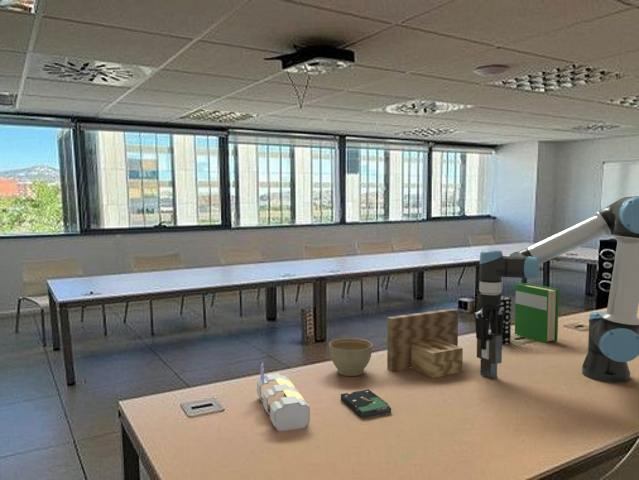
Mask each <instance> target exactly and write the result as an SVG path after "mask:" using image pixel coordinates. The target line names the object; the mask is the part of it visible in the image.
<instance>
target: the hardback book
mask: <svg viewBox="0 0 639 480" xmlns="http://www.w3.org/2000/svg"><path fill="white" fill-rule="evenodd" d="M559 295H560V289H559V288H555V287H550V286H543V285H538V284H534V283H533V284H532V283H528V282H526V283H517V284H515V305H514V306H515V309H514V310H515V312H514V313H515V314H514V335H516V334H517V335H516V336H519V335H520V336H519V337H522V336H523V337H522V338H525V337H526V339H528V338H529V339H528V340H531V341H535V342H538V343H542V344H545V345H547V344H548V342H554V343H558V338H559V337H558V333H559V299H560V296H559Z"/></svg>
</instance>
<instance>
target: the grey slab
mask: <svg viewBox="0 0 639 480" xmlns="http://www.w3.org/2000/svg"><path fill="white" fill-rule="evenodd" d="M487 341H489V359H485V358H483V357H482V349H481V340H480V339H477V338H476V358H478V359H480V371H479V372H480V376H482V377H484V378H487V379H489V380H493V379H497V378H498V364H499V365H500V364H502V363H503V361H502V360H503V359H502V358H503V344H502V335H500V334H496V333H493V332H491V330H489V331H488V339H487Z"/></svg>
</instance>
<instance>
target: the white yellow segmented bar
mask: <svg viewBox="0 0 639 480" xmlns="http://www.w3.org/2000/svg"><path fill="white" fill-rule="evenodd" d="M260 364H261V365H260V371H259V372H260V378H259V379H258V380H257V381H256V394H257V397H258V398H259V399H260V401H261V402H262V404H263V407H264V410H265V411H266V413H267V415H269V418H270V421H271V423H272V425H273V427H274V428H275V429H276V430H277V432H284V431H291V430H296V429H303V428H307V427H308V424H309V423H310V422H311V407H310V405H309V404H308V403H307V401H306V400H305V399H304V398H303V396H302V395H301V393H300V392H299V391H298V389H297V388H296V386H295V385H294V384H293V383H292V381H291V380H290V379H289V377H288V376H287V375H285V374H284V375H281V374H280V373H278V372H277V373H269V374H265V369H264V362H261V363H260ZM271 381H272V382H273V381H276V382H277V384H274V385H272V386H271V387H270V388H267V389H265V390H264V391H263V392H262V387H263V385H268V384H269V383H270V382H271ZM282 392H283V396H282V397H279V399H278V400H276V401H273V402H272V403H271V404H270V405H269V398H270V397H274V396H276V395H277V393H282Z"/></svg>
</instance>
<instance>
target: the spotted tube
mask: <svg viewBox="0 0 639 480" xmlns="http://www.w3.org/2000/svg"><path fill="white" fill-rule="evenodd" d="M499 306H500V309H503V310H505V311H506V312H505V315H504V322H503V334H502V345H509V344H511V336H512V335H511V333H512V332H511V331H512V328H511V327H512V326H511V325H512V320H511V319H512V297H509V296H503V295H501V304H500V305H499ZM498 333H499V332H498Z"/></svg>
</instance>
